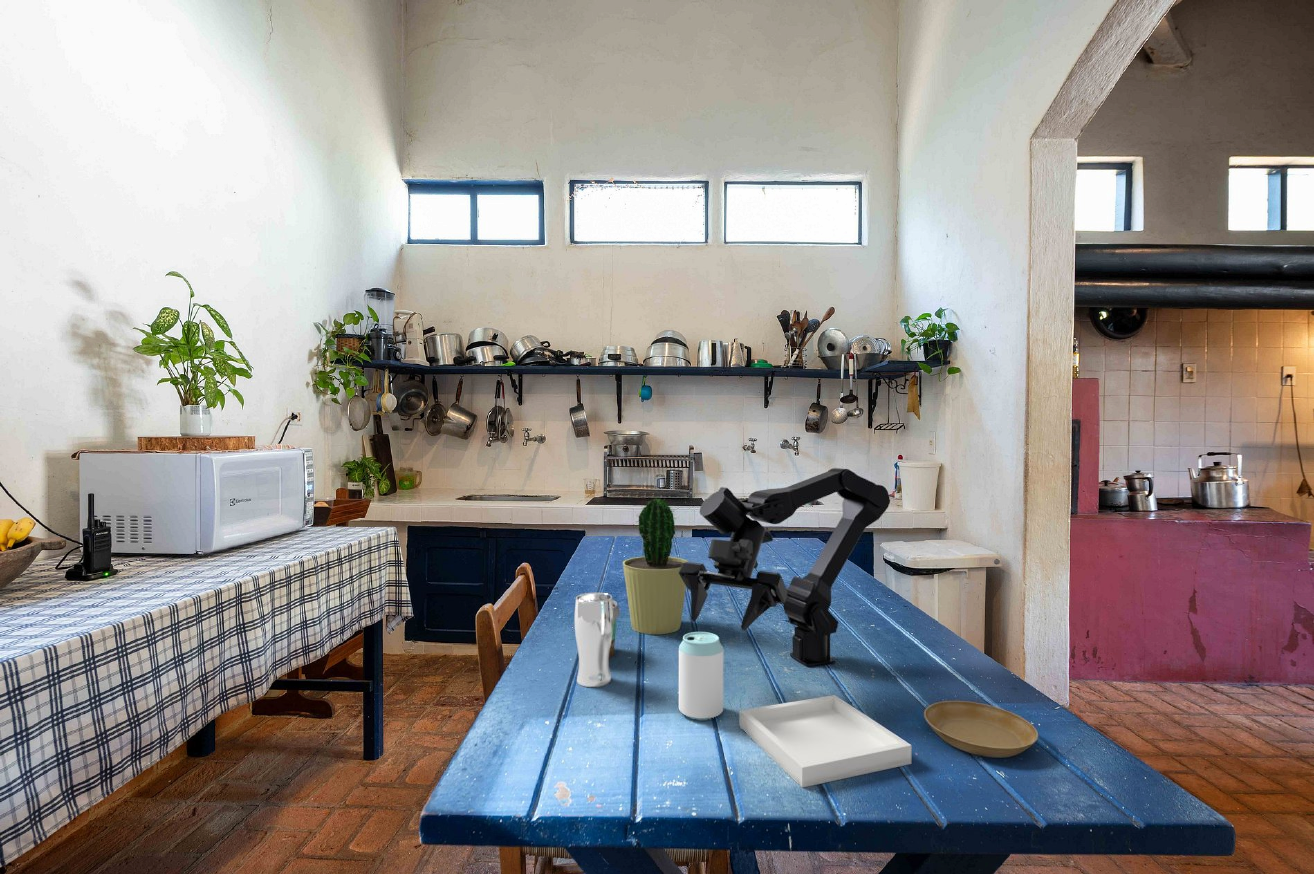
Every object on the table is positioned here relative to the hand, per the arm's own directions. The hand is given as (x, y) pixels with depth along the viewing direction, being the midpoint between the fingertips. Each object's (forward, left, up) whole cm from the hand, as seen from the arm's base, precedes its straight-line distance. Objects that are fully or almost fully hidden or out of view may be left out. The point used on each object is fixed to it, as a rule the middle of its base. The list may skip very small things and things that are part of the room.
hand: (717, 624), depth 104 cm
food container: (+13, -26, -12) cm, 32 cm away
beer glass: (+18, -14, -12) cm, 26 cm away
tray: (-7, +19, -12) cm, 24 cm away
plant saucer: (-30, +25, -13) cm, 41 cm away
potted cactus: (-3, -40, -12) cm, 42 cm away
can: (+5, +4, -12) cm, 14 cm away
